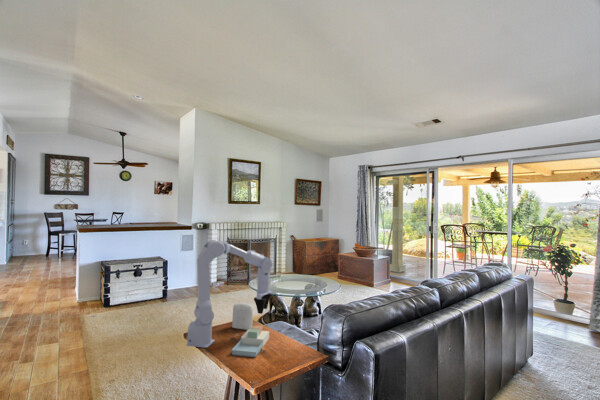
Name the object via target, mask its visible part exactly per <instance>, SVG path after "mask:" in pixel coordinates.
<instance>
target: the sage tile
mask: <svg viewBox="0 0 600 400" xmlns="http://www.w3.org/2000/svg"><path fill="white" fill-rule="evenodd" d="M259 335H260V329H250V330H249V331H248V338H258V336H259Z"/></svg>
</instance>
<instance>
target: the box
mask: <svg viewBox="0 0 600 400" xmlns="http://www.w3.org/2000/svg"><path fill="white" fill-rule="evenodd" d="M263 348H264V346H263V342H262V343H261V344H260V346H257V345H247V344H241V339H240V340H239V341H238V342H237V343H236V345H234V347H233V348H232V349H231V356H238V357H247V358H257V356H258V355H259V353H260V351H261V350H262V349H263Z"/></svg>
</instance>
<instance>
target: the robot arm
mask: <svg viewBox="0 0 600 400" xmlns="http://www.w3.org/2000/svg"><path fill="white" fill-rule="evenodd" d="M229 253H230V254H232V255H235V256H238V257H240V258H243V260H244V262H245V263H247V264H249V265H252V266H254V267H257V287H256V288H257V289H256V290H257V291H256V296H255V297H254V298H253V300H254V303H255V305H256V310H257V311H256V312H257V314H259V315H260V314H261V315H262V314H263V313H264V309H265V310H267V309H268V307H269V301H270V299H271V297H272V293H273V292H272V291H270V281H271V280H270V279H271V277H270V276H271V269H272V267H273V261H272V260H271V258H270V257H267V256H264V253H261V254H260V253H258V252H256V250H253V249H249V250H247V251H246V250H243V249H242V248H239V247H237V246H234V245H233V244H230V243H227V242H223V241H218V240H215V239H212V240H209V241H207V242H206V243H205V244H204V245H203V247H202V250H201V251H200V253H199V254H198V257H197V259H196V261H197V262H196V264H197V267H196V268H197V269H196V270H197V272H196V274H197V276H196V277H197V278H196V279H197V301H196V303H195V304H196V306H195V308H194V312H193V313H194V316H195V320H194V321H191V322H190V323H189V325H188V328H187V339H186V344H185V345H186V346H188V347H195V348H205V349H207V348H209V347H210V346H211V345H212V344H213V343H215V341H216V340H215V339H213V338H212V334H213V333H212V331H213V320H214V318H215V314H214V311H213V309H212V303H211V288H210V285H211V284H210V282H211V281H210V280H211V279H210V278H211V277H210V276H211V275H210V263H212V262H213V261H214V260H215V259H216V258H219V257H222V255H224V254H225V255H226V254H229ZM194 345H195V346H194Z"/></svg>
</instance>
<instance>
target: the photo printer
mask: <svg viewBox="0 0 600 400" xmlns="http://www.w3.org/2000/svg"><path fill="white" fill-rule="evenodd" d="M253 319H254V306H253V305H252V304H250V303H249V302H241V301H240V302H236V303H234V304H233V306H232V321H231V325H232V328H233V329H238V330H246V331H247V330H248V329H251V328H252V327H253V321H254V320H253Z"/></svg>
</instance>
